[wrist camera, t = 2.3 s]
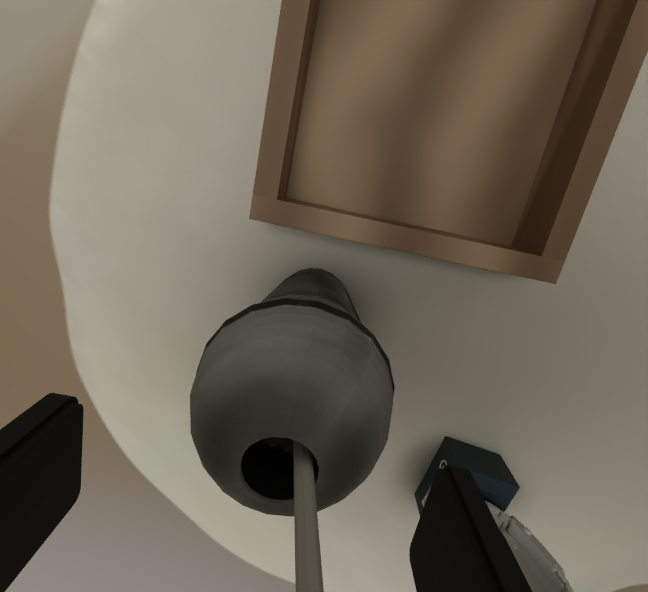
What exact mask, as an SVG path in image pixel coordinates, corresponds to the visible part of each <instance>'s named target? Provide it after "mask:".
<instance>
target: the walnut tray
mask: <svg viewBox="0 0 648 592" xmlns="http://www.w3.org/2000/svg"><path fill="white" fill-rule="evenodd" d="M647 51H648V0H282V3H281V10H280V17H279V23H278V30H277V37H276V43H275V50H274V57H273V63H272V70H271V77H270V84H269V90H268V97H267V104H266V110H265V117H264V124H263V130H262V137H261V144H260V150H259V157H258V164H257V170H256V177H255V184H254V190H253V197H252V204H251V210H250V217H249V219H253V220H258V221H262V222H267V223H272V224H276V225H281V226H286V227H291V228H295V229H300V230H305V231H309V232H314V233H319V234H323V235H328V236H333V237H337V238H342V239H347V240H352V241H356V242H361V243H366V244H370V245H375V246H380V247H384V248H389V249H394V250H398V251H403V252H408V253H413V254H417V255H422V256H427V257H431V258H436V259H441V260H445V261H450V262H455V263H459V264H464V265H469V266H474V267H478V268H483V269H488V270H492V271H497V272H502V273H506V274H511V275H516V276H520V277H525V278H530V279H535V280H539V281H544V282H549V283H553V284H556V282H557V279H558V277H559V274H560V272H561V269H562V267H563V264H564V262H565V259H566V256H567V254H568V251H569V249H570V246H571V244H572V241H573V239H574V236H575V234H576V231H577V229H578V226H579V223H580V221H581V218H582V216H583V213H584V211H585V208H586V206H587V203H588V201H589V198H590V196H591V193H592V190H593V188H594V185H595V183H596V180H597V178H598V175H599V173H600V170H601V168H602V165H603V163H604V160H605V157H606V155H607V152H608V150H609V147H610V145H611V142H612V140H613V137H614V135H615V132H616V129H617V127H618V124H619V122H620V119H621V117H622V114H623V112H624V109H625V107H626V104H627V102H628V99H629V96H630V94H631V91H632V89H633V86H634V84H635V81H636V79H637V76H638V74H639V71H640V69H641V66H642V63H643V61H644V58H645V56H646V53H647Z"/></svg>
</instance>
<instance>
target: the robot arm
mask: <svg viewBox="0 0 648 592" xmlns="http://www.w3.org/2000/svg"><path fill="white" fill-rule="evenodd" d="M82 433H83V406H82V405H81V404H78V400H77V398H76V397H72V396H67V395H62V394H56V393H50V394H48V395H46V396H45V397H43V398H42V399H41V400H39V401H38V402H37V403H36V404H34V405H33V406H32V407H30V408H29V409H27V410H26V411H25V412H23V413H22V414H21V415H19V416H18V417H17V418H15V419H14V420H13V421H11V422H10V423H9V424H7V425H6V426H5V427H3V428H2V429H1V430H0V592H5V591H6V589H7V588H8V587H9V585H10V584H11V583H12V582H13V581H14V579H15V578H16V577H17V575H18V574H19V573H20V572H21V571H22V569H23V568H24V567H25V565H26V564H27V563H28V562H29V560H30V559H31V558H32V557H33V555H34V554H35V553H36V552H37V550H38V549H39V548H40V547H41V545H42V544H43V543H44V541H45V540H46V539H47V538H48V536H49V535H50V534H51V533H52V531H53V530H54V529H55V528H56V526H57V525H58V524H59V523H60V521H61V520H62V519H63V518H64V516H65V515H66V514H67V513H68V511H69V510H70V509H71V508H72V506H73V505H74V503H75V502H76V500H77V498H78V496H79V493H80V488H81V462H82V461H81V460H82V435H83V434H82ZM410 563H411V568H412V572H413V577H414V581H415V586H416V590H417V592H532V590H531V588H530V586H529V584H528V582H527V580H526V578H525V576H524V574H523V572H522V570H521V568H520V566H519V564H518V562H517V560H516V558H515V556H514V554H513V552H512V550H511V548H510V546H509V544H508V542H507V540H506V538H505V537H504V535H503V534H502V532H501V531H500V530H499V528H498V526H497V524H496V522H495V520H494V518H493V516H492V514H491V512H490V510H489V508H488V506H487V504H486V502H485V500H484V498H483V496H482V494H481V492H480V490H479V488H478V486H477V484H476V482H475V480H474V478H473V476H472V474H471V472H470V471H469V469H467V468H462V467H456V466H451V465H445V466H444V467H443V469H442V470H441V469H438V470H437V471H436V474H435V476H434V479H433V482H432V485H431V488H430V491H429V494H428V497H427V499H426V502H425V505H424V508H423V511H422V514H421V517H420V519H419V522H418V525H417V528H416V531H415V534H414V537H413V539H412V542H411V546H410Z"/></svg>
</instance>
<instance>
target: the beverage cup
mask: <svg viewBox="0 0 648 592" xmlns="http://www.w3.org/2000/svg"><path fill="white" fill-rule="evenodd" d="M394 389H395V387H394V382H393V377H392V372H391V368H390V363H389V359H388V357H387V356H386V354H385V353H384V351H383V349H382V348H381V346H380V344H379V343H378V341H377V339H376V338H375V336H374V335H373V333H372V332H370V331H369V330H368V329H367V328H366V327H364V326H363V324H362V323H361V322H360V319H359V317H358V315H357V313H356V310H355V308H354V306H353V303H352V301H351V299H350V297H349V295H348V293H347V291H346V290H345V288H344V286H343V285H342V284H341V282H340V280H338V279H337V278H336V277H335V276H334V275H333V274H331V273H329V272H327V271H324V270H322V269H314V268H309V269H304V270H300V271H298V272H296V273H295V274H293V275H291V276H290V277H288V278H287V279H285V280H284V281H283V282H282V283H281V284H280V285H279V286H278V287H277V288H275V289H274V290H273V291H272V292H271V293H270V294H269V295H268V296H267V297H266V298H265V299H264V300H263V301H262V302H261V303H259V304H254V305H251V306H250V307H248V308H246V309H245V310H243V311H241V312H240V313H238V314H236V315H235V316H233V317H231V318H229V319H228V320H226V321H225V322H224V323H223V325H222V326H221V327H220V328H219V329H218V330H217V332H216V333H215V334H214V335H213V336H212V338H211V339H210V340H209V341H208V342H207V344H206V347H205V349H204V352H203V355H202V358H201V361H200V363H199V366H198V369H197V373H196V378H195V380H194V383H193V386H192V390H191V394H190V415H191V435H192V438H193V441H194V444H195V447H196V449H197V452H198V455H199V457H200V460H201V462H202V465H203V467H204V468H205V470H206V471H207V472H208V474H209V475H210V476H211V477H212V479H213V480H214V481H215V482H216V483H217V485H218V486H219V487H220V488H221V490H222V491H223V492H224V493H226V494H227V495H229V496H230V497H232V498H233V499H234V500H236V501H237V502H239V503H240V504H242V505H243V506H246V507H249V508H251V509H254V510H257V511H260V512H263V513H265V514H271V515H282V516H295V570H296V592H324V591H323V579H322V567H321V555H320V543H319V531H318V519H317V512H318V511H320V510H323V509H325V508H327V507H329V506H331V505H333V504H335V503H338V502H339V501H341V500H343V499H344V498H346V497H347V496H348V495H349V494H350V493H351V492H352V491H353V490H355V489H356V488H357V487H358V486H359V485H360V484H361V483H362V482H363V481H364V480H365V479H366V478H367V477H368V475H369V474H370V473H371V471H372V469H373V468H374V466H375V464H376V462H377V460H378V458H379V457H380V455H381V453H382V451H383V449H384V447H385V445H386V442H387V439H388V433H389V426H390V419H391V413H392V406H393V396H394Z"/></svg>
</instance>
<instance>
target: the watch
mask: <svg viewBox="0 0 648 592" xmlns="http://www.w3.org/2000/svg"><path fill="white" fill-rule="evenodd" d="M445 465H451V466H456V467H462V468H467V469H469V471H470V472H471V474H472V476H473V478H474V480H475V482H476V484H477V486H478V488H479V490H480V492H481V494H482V496H483V498H484V500H485V502H486V504H487V506H488V508H489V510H490V512H491V514H492V516H493V518H494V520H495V522H496V524H497V526H498V528H499V530H500V531H501V532H502V534H503V535H504V537H505V538H506V540H507V542H508V544H509V546H510V548H511V550H512V552H513V554H514V556H515V558H516V560H517V562H518V564H519V566H520V568H521V570H522V572H523V574H524V576H525V578H526V580H527V582H528V584H529V586H530V588H531V590H532V592H574V591H573V589H572V588H571V586H570V585H569V582H568V581H567V579H566V578H565V572H564V570H563V569H562V568H561V566H560V565H559V564H558V563H557V561H556V560H555V559H554V558H553V557H552V555H551V554H550V553H549V552H548V551H547V550H546V548H545V547H544V546H543V545H542V544H541V543H540V542H539V541H538V540H537V539H536V537H535V536H534V535H533V534H532V533H531V531H530V530H529V529H528V528H526V527H525V526H524V525H523V524H521V523H520V522H519V521H518V520H517V519H516V518H515V517H514V516H511V517H510V516H508V515H507V514H506V513H504V511H505V510H506V508H507V507H508V505H509V503H510V502H511V500H512V499H513V497H514V496H515V494H516V492H517V491H518V489H519V488H520V487H519V485H518V483H517V482H516V480H515V479H514V477H513V475H512V474H511V472H510V470H509V469H508V467H507V465H506V464H505V462H504V461H503V459H502V457H501V456H500V455H499V454H496V453H493V452H490V451H487V450H484V449H482V448H479V447H476V446H473V445H470V444H467V443H464V442H461V441H458V440H455V439H452V438H449V437H445V439H444V440H443V442H442V444H441V446H440V448H439V450H438V452H437V453H436V455H435V457H434V459H433V461H432V463H431V465H430V467H429V468H428V470H427V472H426V474H425V476H424V478H423V480H422V481H421V483H420V485H419V487H418V489H417V491H416V493H415V498H416V502H417V506H418V509H419V513H420V517H421V514H422V511H423V508H424V505H425V502H426V499H427V497H428V494H429V491H430V488H431V485H432V482H433V479H434V476H435V474H436V471H437V470H438V469H441V470H442V469H443V467H444V466H445Z"/></svg>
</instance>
